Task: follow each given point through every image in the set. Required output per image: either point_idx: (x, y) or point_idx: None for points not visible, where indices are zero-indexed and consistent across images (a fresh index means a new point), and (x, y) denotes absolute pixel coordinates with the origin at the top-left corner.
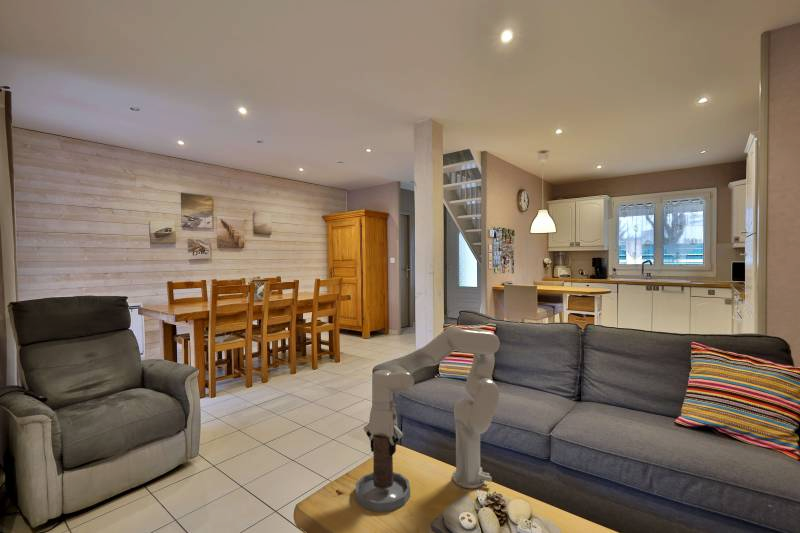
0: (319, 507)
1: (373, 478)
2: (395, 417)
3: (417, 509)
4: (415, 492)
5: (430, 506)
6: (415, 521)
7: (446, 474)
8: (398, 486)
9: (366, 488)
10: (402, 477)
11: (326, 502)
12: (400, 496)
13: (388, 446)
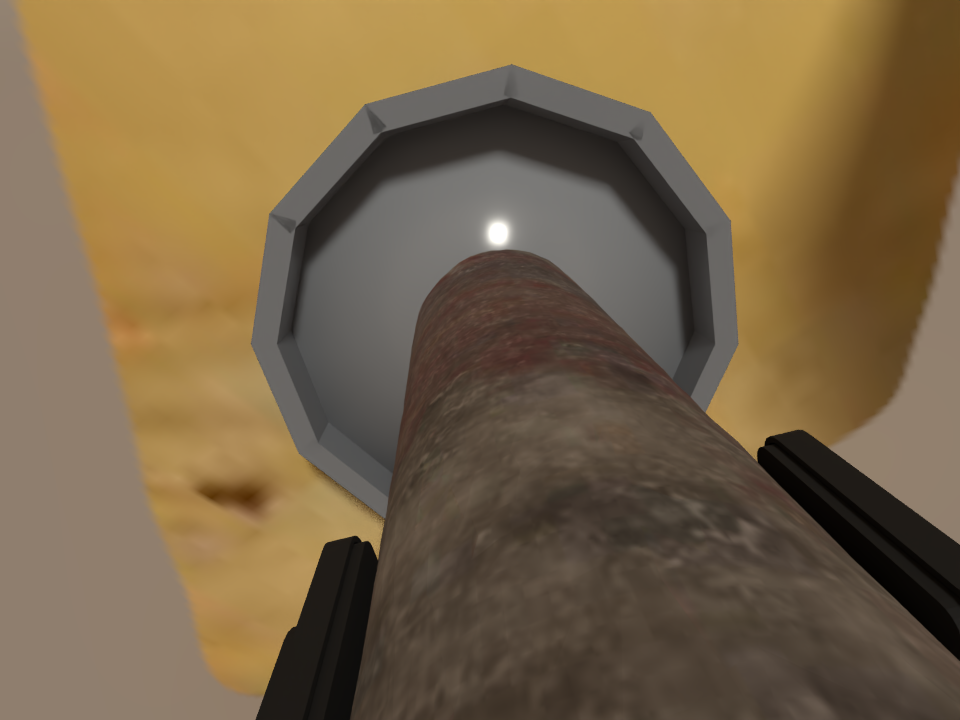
0: (284, 638)
1: (305, 245)
2: None
3: (807, 304)
4: (707, 137)
5: (883, 216)
6: (838, 401)
7: None
8: (565, 194)
9: (370, 382)
10: (573, 112)
11: (273, 595)
12: (709, 361)
13: None
